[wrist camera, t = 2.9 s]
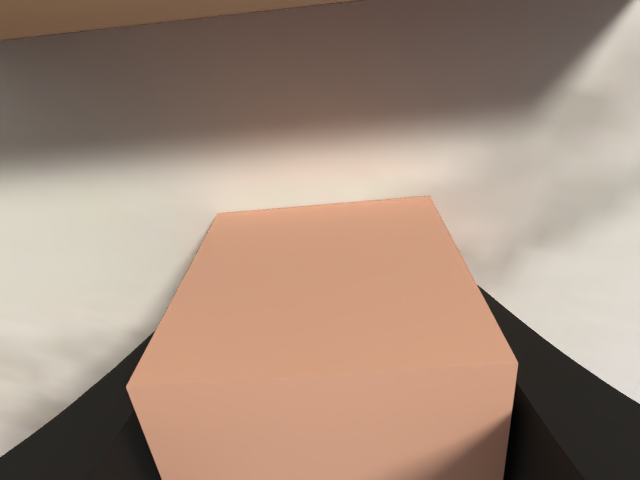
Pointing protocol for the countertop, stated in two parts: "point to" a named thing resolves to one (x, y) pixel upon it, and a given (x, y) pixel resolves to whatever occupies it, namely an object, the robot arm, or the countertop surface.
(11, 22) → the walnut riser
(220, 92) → the countertop surface
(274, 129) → the countertop surface
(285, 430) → the terracotta block
